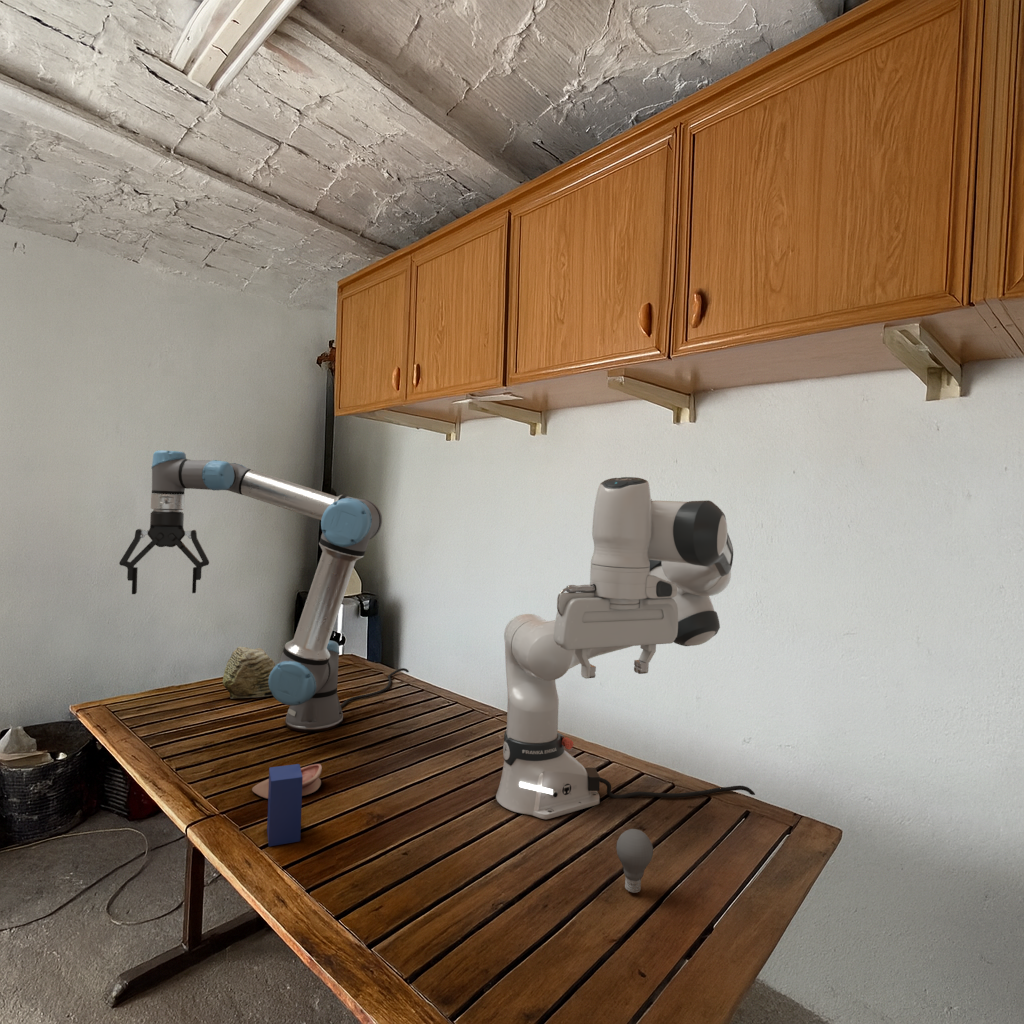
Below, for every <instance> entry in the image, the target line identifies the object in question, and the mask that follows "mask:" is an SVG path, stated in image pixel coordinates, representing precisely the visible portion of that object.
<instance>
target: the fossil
mask: <svg viewBox="0 0 1024 1024" xmlns="http://www.w3.org/2000/svg"><path fill="white" fill-rule="evenodd" d="M276 665H277V664H276V663H275V662H274V660H273V659H272V658H271V657H270V656H269V655H268V654H267V653H266V652H265V650H264V649H263V648H260V647H258V648H251V647H247V646H246V647H245V646H238V647H237V648H236V649H235V650H233V651H232V653H231V656H230V657H229V659H228V660H227V663H226V666H225V668H224V671H223V675H222V676H223V677H222V685H223V687H224V688H225V690H226V691H228V693H229V698H230V699H250V698H264V697H271V696H272V697H273V694H272V693H271V691H270V689H269V685H268V679H269V675H270V673H271V671H272V670H273V668H274V667H275V666H276Z"/></svg>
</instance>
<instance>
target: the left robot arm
mask: <svg viewBox="0 0 1024 1024" xmlns="http://www.w3.org/2000/svg"><path fill="white" fill-rule="evenodd" d="M187 489H188V490H190V489H191V490H209V491H228V492H232V493H235V494H238V495H242V496H245V497H248V498H251V499H255V500H257V501H260V502H264V503H267V504H269V505H272V506H276V507H279V508H282V509H285V510H288V511H291V512H294V513H297V514H300V515H303V516H306V517H310V518H312V519H316V520H319V521H320V529H321V532H322V533H321V535H320V539H319V542H318V545H319V547H320V549H321V551H322V552H321V555H320V558H319V561H318V564H317V567H316V570H315V573H314V575H313V579H312V582H311V585H310V589H309V591H308V594H307V597H306V599H305V603H304V607H303V608H302V612H301V615H300V618H299V621H298V623H297V627H296V631H295V633H294V636H293V638H292V639H291V640H289V641H287V642H286V643H285V644H284V647H283V650H282V653H281V655H280V658H279V662H278V663H277V664H275V665H276V666H275V667H274V668H273V670H272V671H271V673H270V675H269V679H268V685H269V689H270V691H271V693H272V694H273V695H272V697H273V698H274V699H275V700H276V701H277V702H279V703H281V704H283V705H286V706H289V708H288V709H287V713H286V715H285V726H286V728H287V729H289V730H291V731H294V732H295V731H296V732H301V733H316V732H325V731H329V730H332V729H335V728H337V727H339V726H340V725H342V723H343V722H344V714H343V709H342V708H343V707H345V706H346V705H347V704H348V703H350V702H351V701H354V700H358V699H365V698H368V697H373V696H375V695H379V694H382V693H384V692H386V691H387V690H389V689H390V687H391V685H392V676H393V675H395V674H397V673H399V672H406V673H409V672H410V671H409V669H407V668H405V667H401V668H398V669H396V670H393V671H392V672H390V673H389V674H388V675H387V680H388V684H387V685H386V686H385V687H384V688H381V689H380V690H377V691H374V692H371V693H366V694H361V695H356V696H355V695H354V696H352V697H349V698H347V699H345V700H344V701H343V702H342V703H341V702H340V699H339V695H338V682H339V681H338V680H339V662H340V661H339V660H340V659H339V657H340V645H339V643H338V642H337V641H335V640H330V639H331V636H332V634H333V630H334V628H335V624H336V621H337V618H338V616H339V613H340V609H341V607H342V604H343V600H344V597H345V594H346V591H347V588H348V585H349V583H350V580H351V576H352V574H353V571H354V568H355V565H356V562H357V561H358V560H361V559H362V558H364V557H365V553H366V551H367V548H368V544H369V542H370V540H372V539H373V538H374V537H376V536H377V535H378V534H379V532H380V530H381V528H382V525H383V517H382V516H383V515H382V512H381V510H380V509H379V507H378V506H377V505H376V504H375V503H374V502H373V501H371V500H368V499H365V498H357V497H354V496H353V497H352V496H348V495H345V494H339V495H338V496H336V495H334V494H330V493H327V492H324V491H320V490H317V489H314V488H311V487H308V486H305V485H302V484H299V483H296V482H292V481H289V480H286V479H283V478H280V477H277V476H274V475H271V474H267V473H264V472H261V471H258V470H255V469H251V468H248V467H246V466H245V465H243V464H240V463H236V462H228V461H224V460H217V459H211V460H208V459H207V460H206V459H188V458H187V454H186V453H185V452H184V451H178V450H176V451H175V450H165V449H164V450H161V449H160V450H159V449H158V450H155V451H154V453H153V455H152V463H151V494H150V509H151V510H152V511H151V512H150V521H149V522H150V523H149V529H148V530H147V529H142V528H137V529H136V530H135V532H134V538H133V540H132V541H131V542H130V545H128V548H127V550H126V551H125V552H124V554H123V555H122V556H121V559H120V560H119V563H118V564H119V566H122V567H125V568H126V569H127V576H126V579H127V581H128V582H130V581H131V595H136V594H137V593H138V567H137V566H136V565H137V564H138V563H139V562H140V561H141V560H142V559H143V558H144V557H145V556H146V555H147V554H148V553H149V552H150V551H151V550H152V549H153V548H154V547H155V546H156V547H158V548H165V547H166V548H174V547H177V548H178V549H179V550H180V551H181V552H182V553H183V554H184V555H185V556H186V557H187V558H188V560H189V561H190V562H191V563H192V564H193V565H194V566H193V567H192V583H191V584H192V587H191V593H192V594H196V592H197V581H201V579H202V569H203V567H206V566H209V564H210V560H209V558H208V556H207V554H206V552H205V550H204V549H203V547H202V544H201V543H200V541H199V539H198V533H197V529H192V530H185V529H184V519H185V513H184V512H183V510H184V509H185V491H186V490H187ZM145 536H148V537H149V539H150V540H151V541H150V542H149V543H148V544H147V545H146V546H145V547H144V548H143V549H142V550H141V551H140V552H138V554H137V555H136V556H134V558H133V559H132V560H131V561H129V559H130V558H131V556H132V555H133V553H134V551H135V549H136V548H137V547H138V545H139V543H140V541H141V540H142V539H144V538H145ZM185 536H187V539H190V540H191V542H192V544H193V545H194V548H195V551H196V552H197V553H198V555H199V558H200V559H201V561H200V560H199V558H197V557H196V556H195V555H194V553H192V551H191V550H190V549H189V548H188V547H187V546H186V545H185V544H184V542H183V541H182V540H183V539H184V537H185Z"/></svg>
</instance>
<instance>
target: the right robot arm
mask: <svg viewBox="0 0 1024 1024" xmlns="http://www.w3.org/2000/svg"><path fill="white" fill-rule="evenodd" d="M591 530H592V531H591V536H592V540H593V553H592V555H591V558H590V569H589V570H590V571H589V572H590V573H589V584H580V585H576V584H569V585H566V587H564V588H563V589H561V590H560V592H559V593H558V594H557V597H556V609H557V610H556V615H555V619H552V620H546V619H544V618H543V617H541V616H539V615H537V614H535V613H522V614H518V615H516V616H514V617H513V618H511V619H510V620H509V621H508V622H507V623H506V626H505V629H504V631H503V632H504V633H503V639H504V654H505V655H504V658H505V677H506V687H507V711H506V730H505V731H504V736H503V744H502V755H503V757H502V758H503V766H502V770H501V771H502V772H501V777H500V781H499V784H498V787H497V788H498V789H497V791H496V794H495V799H496V801H497V803H498V804H499V805H500V806H502V807H503V808H504V809H506V810H509V811H511V812H514V813H518V814H522V815H523V814H524V815H528V816H533V817H535V818H537V819H542V820H550V819H554V818H558V817H560V816H564V815H568V814H570V813H575V812H577V811H580V810H583V809H587V808H590V807H594V806H597V805H600V802H601V799H600V794H599V791H600V787H601V786H600V784H603V785H605V786H606V794H607V796H608V797H610V798H611V799H630V798H634V797H649V798H661V799H663V798H664V799H682V798H692V797H700V796H701V797H702V796H707V795H712V794H716V793H725V792H734V791H745V792H747V793H748V794H749V795H751V796H756V792H754V790H752V789H751V788H750V787H748V786H745V785H732V786H721V787H720V786H719V787H715V788H714V787H713V788H709V789H704V790H696V791H688V792H668V793H667V792H653V791H633V792H627V793H624V794H614V793H613V792H612V784H611V783H610V781H609V780H608V779H606V778H603V777H601V776H600V774H599V773H598V771H597V769H596V767H585V766H584V765H583V764H582V763H581V762H580V761H579V760H577V759H576V758H575V757H574V756H573V755H572V754H570V753H569V752H568V751H566V750H571V749H573V748H574V741H573V740H572V739H570V738H569V737H567V736H566V737H565V735H563V734H562V733H560V732H559V731H558V730H559V729H558V728H559V708H560V699H559V693H558V690H557V689H558V688H557V683H556V680H558V679H560V678H562V677H563V676H564V675H566V673H567V672H568V671H569V670H570V669H573V668H574V667H576V666H578V665H580V675H581V677H582V678H584V679H594V678H596V671H597V666H595V665H594V664H591V663H590V660H591V659H593V658H596V657H598V656H602V655H605V654H610V653H613V652H616V651H621V650H624V649H627V648H631V647H636V646H640V649H641V650H642V651H641V653H640V655H639V658H638V659H634V660H633V662H634V663H633V665H634V667H633V671H634V673H637V674H638V675H642V674H648V673H649V668H650V667H649V666H650V665H649V664H650V662H651V660H652V659H653V657H654V655H655V654H656V651H657V645H668V644H676V645H678V646H683V647H694V646H699V645H704V644H705V643H707V642H708V641H710V640H711V639H712V638H714V637H715V636H716V635H717V634H718V633H719V630H720V628H721V624H720V619H719V616H718V612H717V611H715V608H714V605H713V602H712V600H711V599H712V598H711V597H713V596H716V595H718V594H721V593H722V592H724V591H725V589H726V588H727V587H728V586H729V584H730V582H731V578H732V567H733V561H734V546H733V543H732V540H731V538H730V535H729V532H728V523H727V518H726V515H725V513H724V512H723V510H722V509H721V508H720V507H719V506H718V505H717V504H716V503H714V502H713V501H712V500H709V499H708V500H690V501H683V500H682V501H680V500H679V501H678V500H653V499H652V497H651V488H650V483H649V480H646V479H645V478H641V477H634V476H623V477H622V476H621V477H612V478H607V479H605V480H603V481H602V482H600V483H599V485H598V488H597V491H596V495H595V500H594V507H593V515H592V528H591ZM565 749H566V750H565ZM720 788H721V789H720Z"/></svg>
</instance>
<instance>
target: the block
mask: <svg viewBox="0 0 1024 1024" xmlns="http://www.w3.org/2000/svg"><path fill="white" fill-rule="evenodd" d="M301 768H302V767H301V764H300V763H296V764H287V765H279V766H271V767H269V768H268V779H269V790H268V799H267V817H266V818H267V819H266V820H267V821H266V833H267V843H268V847H275V846H280V845H287V844H293V843H299V842H301V835H302V834H301V833H302V806H303V796H302V781H303V777H302V772H301Z"/></svg>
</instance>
